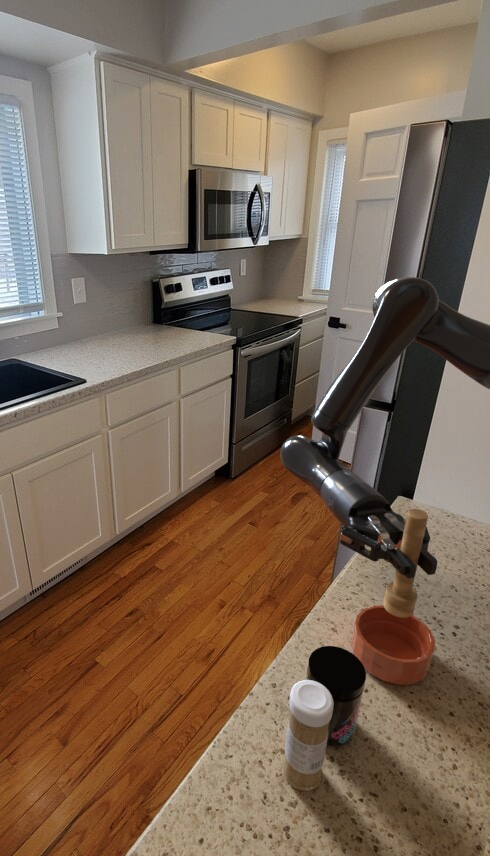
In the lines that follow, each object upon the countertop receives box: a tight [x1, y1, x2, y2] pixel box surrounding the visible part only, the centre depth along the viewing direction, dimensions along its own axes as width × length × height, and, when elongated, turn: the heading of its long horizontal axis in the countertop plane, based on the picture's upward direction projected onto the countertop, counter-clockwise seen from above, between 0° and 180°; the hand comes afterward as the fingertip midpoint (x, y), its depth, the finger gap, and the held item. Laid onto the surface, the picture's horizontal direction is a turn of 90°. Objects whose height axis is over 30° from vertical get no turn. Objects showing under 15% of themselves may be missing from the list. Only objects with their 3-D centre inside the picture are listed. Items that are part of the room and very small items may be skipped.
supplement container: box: [306, 645, 367, 748], centre depth 61 cm, size 7×7×10 cm
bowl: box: [350, 604, 436, 686], centre depth 72 cm, size 11×11×5 cm
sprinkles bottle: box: [282, 679, 333, 792], centre depth 55 cm, size 5×5×14 cm
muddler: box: [382, 508, 429, 618], centre depth 66 cm, size 4×4×16 cm
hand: (423, 570), depth 63 cm, fingers closed on muddler, 2 cm apart
